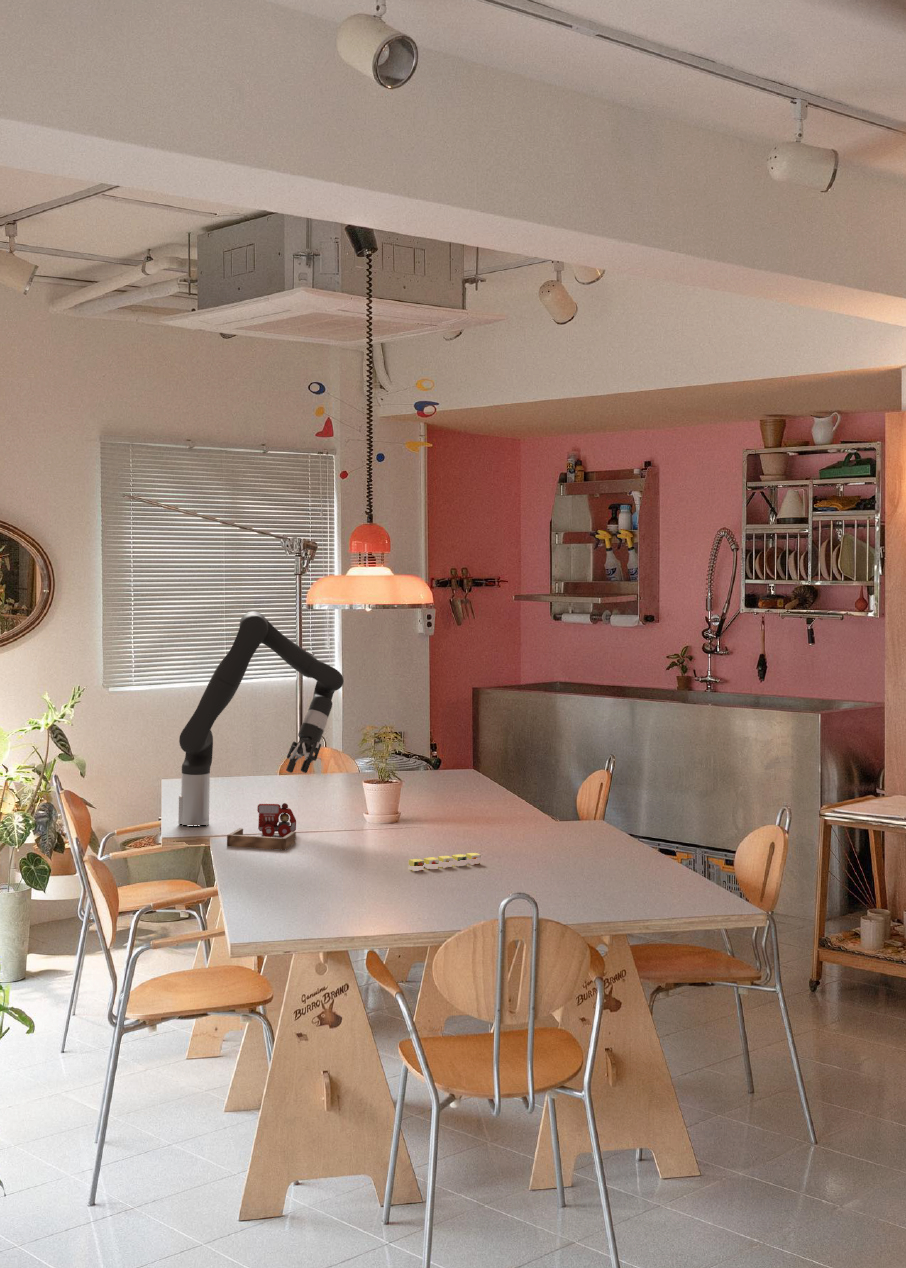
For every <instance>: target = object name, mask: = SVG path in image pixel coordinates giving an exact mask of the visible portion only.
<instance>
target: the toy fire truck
mask: <svg viewBox="0 0 906 1268" xmlns="http://www.w3.org/2000/svg"><path fill="white" fill-rule="evenodd" d="M256 810H257V813H258V825H257V826H258V828H257V829H258V830H259V832H261V833H262V835H263V837H274V834H275V833H276V832H277V833H278V836H280V838H283V837H284V836H286V835H288V834H289V833H291V832H296V829H297V819H296V817H295V815H294V812H293V811H292V809H291V808H289V805H288V804H287V803H286V802H284V803H282V804H281V805H280V803H259V804H258V805H257V809H256Z"/></svg>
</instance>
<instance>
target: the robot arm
mask: <svg viewBox="0 0 906 1268" xmlns="http://www.w3.org/2000/svg"><path fill="white" fill-rule="evenodd" d="M261 644H263V645H265V646H266V647H267V648H269V649H270V650H272V651H273V652H274V653H275V654H277V655H278V656H279V657H280V658H281V659H282V660H283V661H284V662H285V663H287V664H288V665H289V666H290V667H291V668H292V669H294V670H295V671H297V672H298V673H300V674H301V675H302V676H303V677H305V678H308V679H309V678H310V679H313V680H315V682H316V683H315V686H314V690H313V695H312V699H311V701H310V705H309V708H308V709H307V712H306V714H305V715H304V717H303V721H302V722H301V726H300V728H299V731H298V734H297V735H298V736H297V737H299V740H298V742H296V741H293V742H292V743H291V745H290V748H289V750H288V753H287V755H286V759H288V760H289V761H288V764H287V766H286V771H287V772H288V773H290V774H292V773H293V772H294V770H295V767H296V764H297V762H298V760H299V759H302V757H304V760H303V761H302V762H303V763H302V765H301V768H300V772H301V773H304V774H306V773H308V770H309V768H310V765H311V763H313V762H316V761H317V758H318V757H319V753H320V749H321V747H322V743H321V741H322V737H323V735H324V732H325V729H326V726H327V723H328V718H329V716H330V713H331V710H332V708H333V702H332V699H333V697H334V693H335V692H336V691H338V690H340V689H341V688H342V687H343V685H344V682H345V681H344V677H343V675H342V673H341V672H340V671H339V670H338V669H336V668H335V667H333V666H331V665H329V664H327V663H325V662H323V661H320V660H319V659H317V658H316V657H315V656H313V655H312V654H310V652H308V651H307V650H305V649H304V648H303V647H302V646H299V645H298V644H297V643H295V642H293V641H292V639H291V640H290V639H289V638H288V637H286V636H285V635H284V634H283V633H282V632H280V631H279V630H278V629H277V628H276V627H275V626H274V625H273V624H272V623H271V622H270V621H269V620H268V619H267V618H266V617H265V616H264V614H262V613H261V612H258V611H249V612H246V613H245V614H244V615H242V616H241V619H240V621H239V628H238V631H237V633H236V637H235V639H234V641H233V643H232V646H231V647H230V649H229V651H228V652H227V653H226V655H225V656H224V657H223V659H222V660H221V661H220V662H219V664H218V666H217V667H216V668H215V670H214V672H213V674H212V675H211V678H210V680H209V682H208V683H207V685H206V688H205V690H204V692H203V693H202V696H201V699H200V700H199V703H198V705H197V707H196V708H195V711H194V712H193V714H192V716H191V717H190V718H189V720H188V721H187V723H186V724H185V726H184V727H183V729H182V731H181V732H180V735H179V738H178V739H179V740H178V742H179V746H180V749H182V751H183V752H185V755H184V756H185V757H184V760H183V763H182V765H181V782H180V783H181V786H180V787H181V788H180V789H181V793H180V795H179V796H178V824H183V825H193V826H194V825H197V826H198V825H206V826H208V825H209V824H210V793H211V792H210V790H211V788H210V786H211V785H210V783H211V766H212V761H213V752H214V736H213V733H212V727H213V726H214V723H215V721H216V720H217V719H218V717H219V716H220V715H221V714H222V712H224V710H225V708H226V707H227V706H228V704H230V703H231V702H232V699H233V698H234V697H235V695H236V693H237V691H238V689H239V686H240V684H241V682H242V680H243V678H244V676H245V674H246V671H247V669H248V666H249V663H250V662H251V659H252V658H253V656H254V654H255V653H256V651H257V650H258V648H259V647H260V645H261ZM183 825H182V826H183Z"/></svg>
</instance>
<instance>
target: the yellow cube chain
mask: <svg viewBox="0 0 906 1268" xmlns="http://www.w3.org/2000/svg"><path fill="white" fill-rule="evenodd" d="M467 858H469V859H476V858H481V859H482V854H479V853H477V852H469V853H465V854H463V853H461V854H460V853H459V854H458V853H457V854H452V855H451V856H449V855H441V856H437V857H433V856H431V857H424V858H423V859H420V858H412V859H408V864H407V866H408V865H410V866H423V865H424V863H426V864H439V861H442V862H449V861H453V859H455V860H457V861H460V860H467Z"/></svg>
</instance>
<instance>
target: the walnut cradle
mask: <svg viewBox="0 0 906 1268" xmlns="http://www.w3.org/2000/svg"><path fill="white" fill-rule="evenodd" d="M296 836H297V833H296V831H294V832H291V833H289V834H288V835H286V836H284V837H276V836H272V837H265V836H264V835H263V836H262V835H261V836H259V835H246V834H245V835H244V828H243V827H242V828H241V827H240V828H237V829H236V830H234V831H232V832H230V833H229V834H227V836H226V847H227V848H229V847H231V848H245V849H261V850H274V849H280V850H279V851H286V850H287V849H289V848H290V847H292V846H294V844H296V840H297V839H296V838H297V837H296ZM281 849H282V850H281ZM285 849H286V850H285Z"/></svg>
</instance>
